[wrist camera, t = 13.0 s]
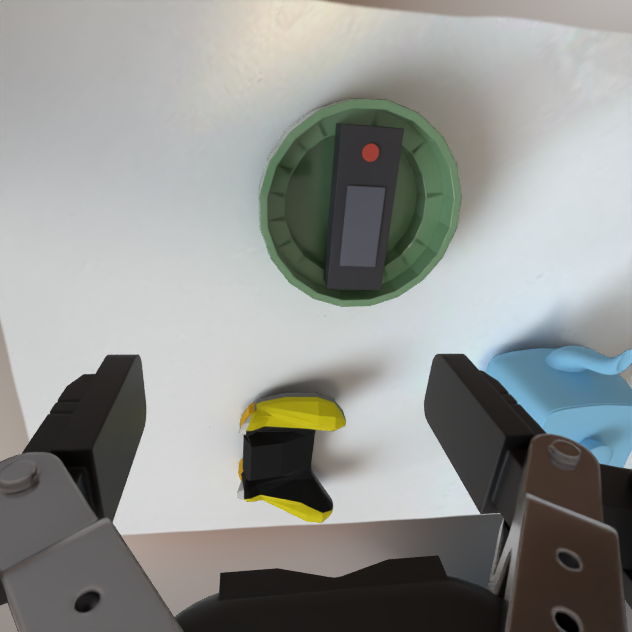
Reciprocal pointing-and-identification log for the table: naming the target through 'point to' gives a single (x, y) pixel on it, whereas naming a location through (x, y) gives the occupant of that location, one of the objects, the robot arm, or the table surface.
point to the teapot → (573, 395)
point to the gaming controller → (286, 452)
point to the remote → (361, 205)
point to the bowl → (314, 198)
